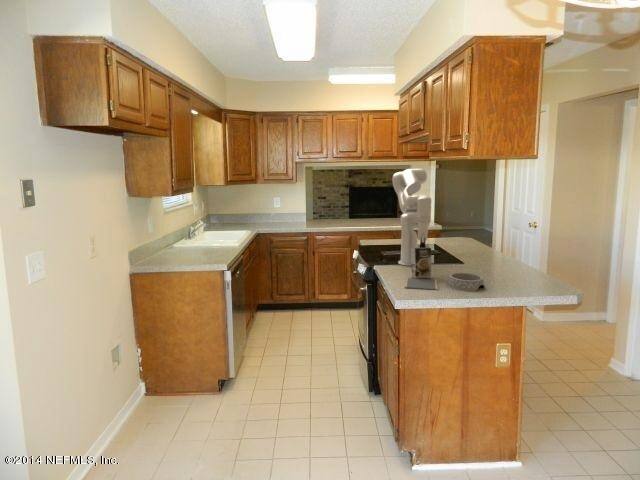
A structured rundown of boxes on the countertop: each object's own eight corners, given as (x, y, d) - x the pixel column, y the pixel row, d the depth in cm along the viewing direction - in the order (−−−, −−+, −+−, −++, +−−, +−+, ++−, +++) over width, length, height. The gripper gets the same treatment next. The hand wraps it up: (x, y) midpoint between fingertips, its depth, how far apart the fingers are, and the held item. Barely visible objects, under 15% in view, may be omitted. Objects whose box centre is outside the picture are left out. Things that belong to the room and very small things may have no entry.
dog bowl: (490, 286, 232) (490, 276, 231) (472, 293, 219) (472, 282, 218) (459, 280, 244) (460, 270, 243) (441, 286, 231) (441, 276, 230)
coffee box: (415, 278, 243) (415, 248, 241) (410, 276, 249) (410, 247, 248) (431, 277, 244) (431, 247, 243) (426, 276, 251) (426, 246, 249)
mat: (406, 279, 245) (406, 277, 244) (436, 280, 241) (436, 279, 241) (404, 288, 227) (404, 287, 227) (437, 290, 224) (437, 289, 224)
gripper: (416, 217, 258) (415, 249, 261) (416, 220, 243) (415, 254, 247) (430, 218, 256) (429, 250, 259) (430, 221, 242) (429, 255, 245)
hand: (422, 252), depth 253 cm, fingers closed
